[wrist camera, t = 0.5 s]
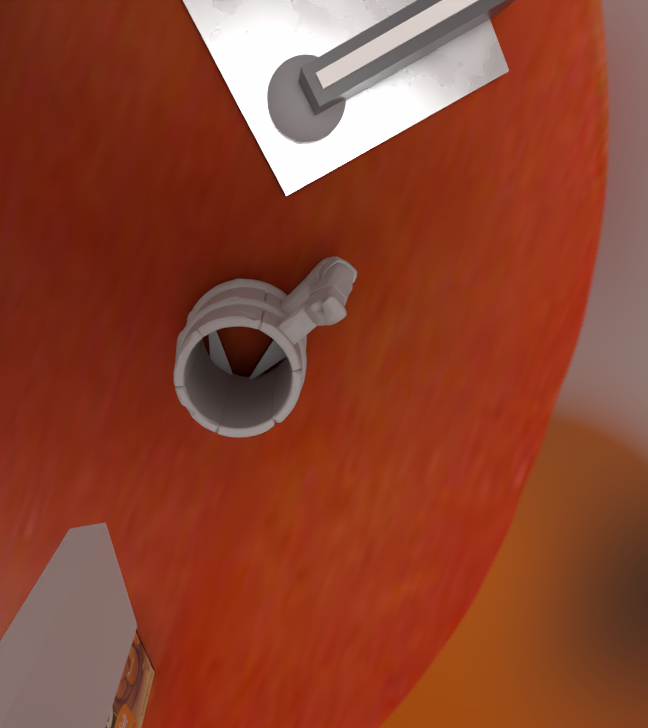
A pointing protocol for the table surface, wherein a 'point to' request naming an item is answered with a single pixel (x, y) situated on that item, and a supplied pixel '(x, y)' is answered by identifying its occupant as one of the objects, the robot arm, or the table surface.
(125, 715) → the candy box
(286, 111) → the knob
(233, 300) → the mug
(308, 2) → the base plate
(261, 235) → the table surface
